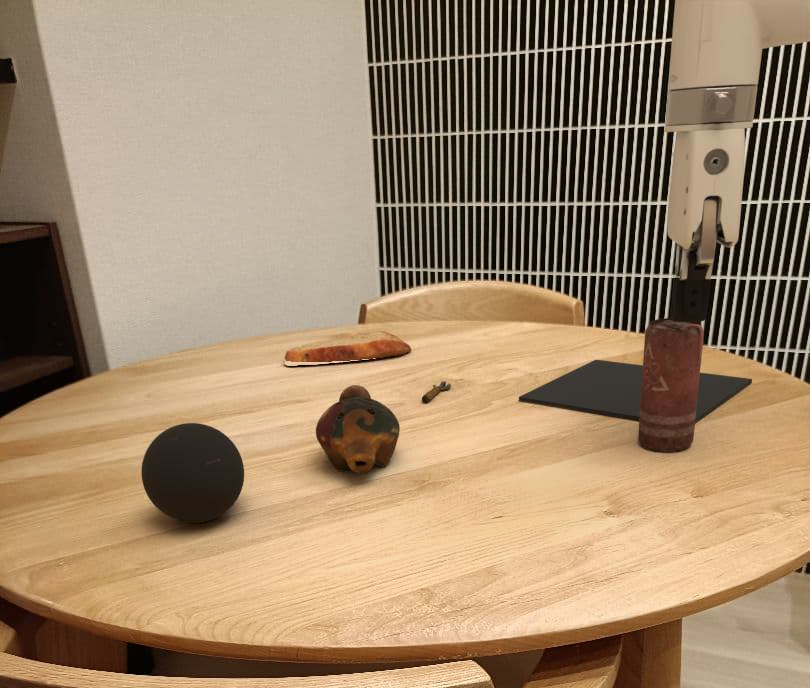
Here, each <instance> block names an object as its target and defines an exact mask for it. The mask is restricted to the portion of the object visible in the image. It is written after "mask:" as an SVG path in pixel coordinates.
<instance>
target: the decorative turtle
mask: <svg viewBox="0 0 810 688" xmlns="http://www.w3.org/2000/svg"><path fill="white" fill-rule="evenodd" d="M400 427H401V426H400V422H399V420H398V418H397V417H396V415H395V414H394V412H393V411H392V410H391V409H390V408H388V406H386V405H385V404H383V403H382V402H380V401H378V400H376V399H373V398H372V397H371V394H370V392H369V391H368V389H367V388H365V387H364V386H362V385H359V384H352V385H349V386H347V387H346V388H345V389H343V390H342V392H340V396H339V399H338V401H337V402H335V403H333V404H332V405H331V406H329V407H328V408H327V409H325V411H324V412H323V413H322V415H321V416H320V417H319V419H318V421H317V423H316V427H315V436H316V439H317V442H318V443H319V446H320V447H321V449H322V450H323V452H324V454H325V456H326V457H327V458H328V460H329V462H330V464H331V466H332V467H333V468H334V469H335V470H337V471H339V470H344V471H345V470H346V469H348V467H349V469H350V470H351V471H352V472H354V473H357V474H363V473H367V472H369V471H370V470H372V468H374V465H375V464H376V465H377V466H379V467H380V466H381V467H386V466H388V465H389V463H390V462H391V460H392V458H393V456H394V452H395V449H396V446H397V444H398V440H399V437H400V431H401V428H400Z"/></svg>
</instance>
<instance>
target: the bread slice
mask: <svg viewBox="0 0 810 688" xmlns="http://www.w3.org/2000/svg"><path fill="white" fill-rule="evenodd" d="M410 351H411V352H412V348H411V346H410V345H409V344H408V343H407V342H405V341H404V340H402V339H401V338H399V337H398V336H396V335H394V334H392V333H391V332H387V331H385V330H379V331H374V332H367V333H366V332H365V333H362V332H360V333H356V334H350V335H344V336H338V337H334V338H329V339H325V340H319V341H316V342H312V343H307V344H303V345H301V346H296V347H293V348H290V349H289V350H287V351H286V353H285V355H284V357H283V358H284V359H285V360H286V361H291V362H332V361H350V360H362V359H373V358H382V359H384V358H383V357H387V358H389V357H388V356H395V357H398V356H397V355H399V356H402V355H401V354H403V355H406V354H408V353H411V352H410ZM407 352H408V353H407ZM284 359H283V360H284Z"/></svg>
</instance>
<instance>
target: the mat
mask: <svg viewBox="0 0 810 688" xmlns="http://www.w3.org/2000/svg"><path fill="white" fill-rule="evenodd" d="M642 372H643V364H634V363H626V362H620V361H619V362H618V361H612V360H611V361H610V360H602V359H594V360H591V361H589V362H587V363H586V364H584V365H581V366H579V367H578V368H575V369H573V370H571V371H569V372H567V373H565V374H562V375H561V376H559V377H556V378H555V379H553V380H551V381H548V382H547V383H545V384H542V385H540V386H538V387H536V388H534V389H532V390H530V391H527V392H526V393H524V394H522V395H520V396H518V402H524V403H528V404H530V403H531V404H535V405H542V406H547V407H554V408H558V409H566V410H571V411H572V410H573V411H578V412H583V413H589V414H596V415H600V416H601V415H602V416H607V417H613V418H619V419H620V418H621V419H625V420H632V421H636V422H639V417H640V402H641V387H642ZM752 383H753V378H748V377H739V376H731V375H724V374H715V373H706V372H700V377H699V387H698V398H697V408H696V418H695V424H697V423H698V422H699V421H701V420H702V419H703V418H705V417H707V416H708V415H710V414H711V413H712V412H713V411H715V410H717V409H718V408H719V407H720V406H722V405H723V404H725V403H726V402H727V401H729V400H730V399H731V398H733V397H734V396H737V395H738V393H740V392H741V391H742V390H744V389H746V388H747V387H748V386H750V385H751V384H752ZM745 387H746V388H745Z"/></svg>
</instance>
